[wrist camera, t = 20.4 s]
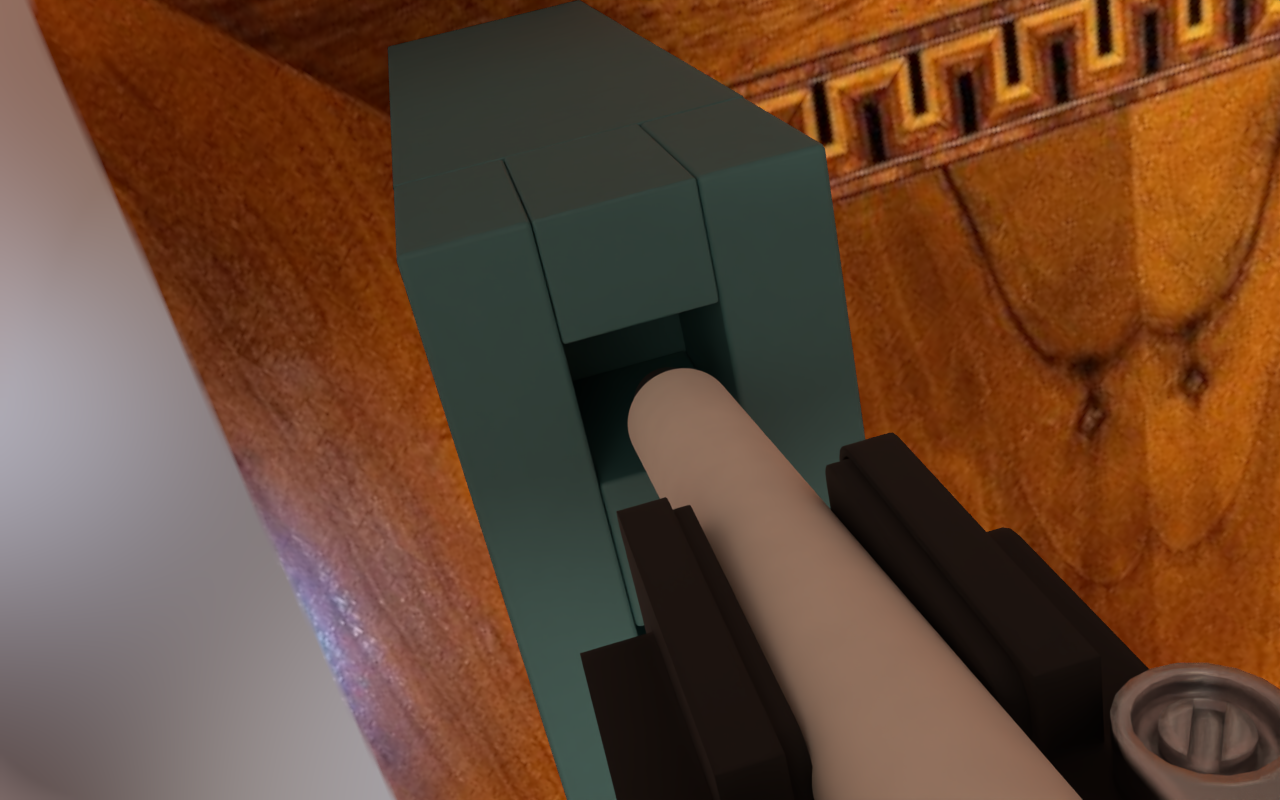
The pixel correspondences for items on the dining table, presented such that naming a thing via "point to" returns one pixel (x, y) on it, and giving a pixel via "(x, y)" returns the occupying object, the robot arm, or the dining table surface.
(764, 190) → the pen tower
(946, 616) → the robot arm
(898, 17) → the dining table surface
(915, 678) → the beige cylindrical rod
